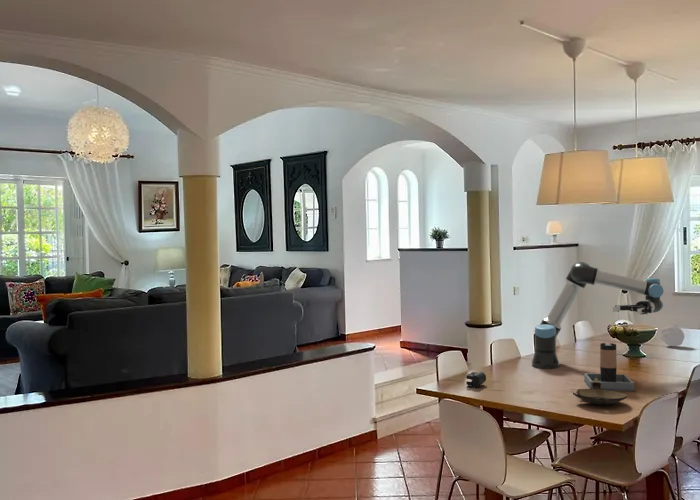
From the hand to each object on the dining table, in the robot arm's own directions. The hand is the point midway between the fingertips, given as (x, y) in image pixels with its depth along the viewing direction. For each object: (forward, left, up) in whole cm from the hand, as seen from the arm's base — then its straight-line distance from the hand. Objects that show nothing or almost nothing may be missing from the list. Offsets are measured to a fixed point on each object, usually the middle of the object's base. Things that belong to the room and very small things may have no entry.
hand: (625, 310), depth 345 cm
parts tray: (-14, -27, -35) cm, 47 cm away
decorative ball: (+49, +95, -35) cm, 113 cm away
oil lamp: (-23, -60, -35) cm, 74 cm away
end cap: (-79, -37, -35) cm, 94 cm away
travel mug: (-14, -27, -34) cm, 46 cm away
